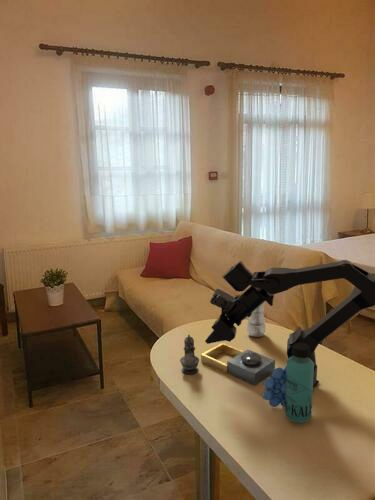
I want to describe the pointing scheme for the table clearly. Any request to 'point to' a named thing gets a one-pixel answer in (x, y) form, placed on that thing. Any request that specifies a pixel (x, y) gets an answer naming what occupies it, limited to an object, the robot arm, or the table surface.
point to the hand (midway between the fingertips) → (209, 335)
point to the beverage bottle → (299, 384)
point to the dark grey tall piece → (189, 358)
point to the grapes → (276, 387)
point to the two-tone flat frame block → (241, 363)
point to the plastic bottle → (256, 322)
